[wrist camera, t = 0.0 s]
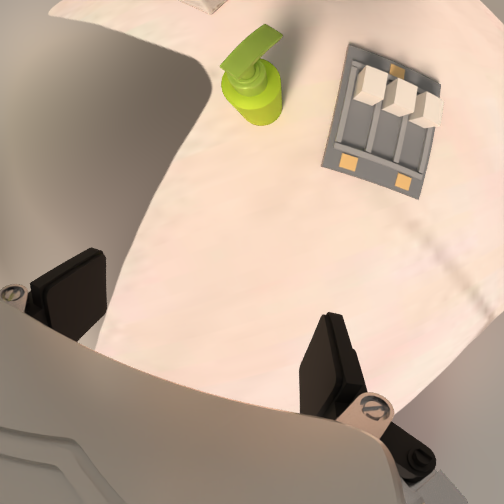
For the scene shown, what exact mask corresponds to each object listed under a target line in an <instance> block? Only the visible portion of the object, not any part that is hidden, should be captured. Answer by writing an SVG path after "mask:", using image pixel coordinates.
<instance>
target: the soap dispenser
mask: <svg viewBox="0 0 504 504" xmlns="http://www.w3.org/2000/svg"><path fill="white" fill-rule="evenodd" d="M282 36H283V35H282V34H281V33H279V32H278V31H276V30H275V29H273V28H272V27H270V26H268V25H266V24H264V25H262V26H261V27H259V28H258V29H257V30H255V31H254V32H253V33H251V34H250V35H249V36H248V37H247V38H246V39H244V40H243V41H242V42H241V43H240V44H239V45H238V46H237V47H236V48H235V49H234V50H233V51H232V53H231V54H230V55H229V56H228V57H227V58H226V59H225V60H224V61H223V63H222V64H221V65H220V68H221V69H223V70H224V71H225V73H224V75H223V77H222V82H221V87H222V92H223V94H224V96H225V98H226V99H227V100H228V101H229V102H230V103H231V104H232V105H233V106H234V107H235V108H236V109H237V111H238V112H239V113H240V114H241V115H242V116H243V117H244V118H245V119H246V120H247V121H248V122H250V123H252V124H254V125H258V126H264V125H268V124H271V123H273V122H274V121H275V120H277V118H278V117H279V116H280V114H281V111H282V95H281V79H280V75H279V73H278V71H277V69H276V68H275V67H274V66H273V65H272V64H271V63H270V62H268V61H266V60H264V59H261V57H262V56H263V55H264V54H265V53H266V52H267V51H268V50H269V49H270V48H271V47H272V46H273V45H275V44H276V43H277V42H278V41H279V40H280V39H281V38H282Z"/></svg>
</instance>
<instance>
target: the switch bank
mask: <svg viewBox="0 0 504 504" xmlns="http://www.w3.org/2000/svg"><path fill="white" fill-rule="evenodd" d="M366 65H368V66H371V67H373V68H376V69H378V70H381V71H383V72H386V73H388V76H387V83H386V86H387V85H388V84H390V83H391V82H393V81H394V80H396V79H397V78H400V79H402V80H404V81H407V82H409V83H411V84H413V85H415V86H417V87H418V88H417V95H419V94H422V93H424V92H426V91H427V92H429V93H431V94H433V95H435V96H437V97H438V98H440V89H441V84H439V83H437V82H435V81H433V80H431V79H430V78H428V77H426V76H424V75H422V74H420V73H418V72H416V71H414V70H412V69H409V68H407V67H405V66H403V65H401V64H398V63H396V62H394V61H392V60H389V59H387V58H384V57H382V56H379V55H377V54H374V53H371V52H369V51H366V50H363V49H360V48H357V47H355V46H351V45H348V47H347V52H346V57H345V62H344V67H343V72H342V77H341V82H340V87H339V91H338V96H337V101H336V105H335V110H334V114H333V118H332V123H331V127H330V131H329V135H328V140H327V144H326V148H325V152H324V156H323V160H322V164H321V167H325V168H328V169H331V170H335V171H338V172H341V173H344V174H348V175H351V176H354V177H357V178H360V179H363V180H366V181H369V182H372V183H375V184H378V185H380V186H383V187H386V188H389V189H391V190H394V191H397V192H399V193H402V194H405V195H407V196H410V197H412V198H415V199H418V200H419V196H420V193H421V189H422V185H423V182H424V178H425V174H426V170H427V165H428V161H429V156H430V152H431V147H432V142H433V137H434V131H435V127H430V128H423V127H421V126H418V125H416V124H414V123H412V122H410V121H408V119H409V114H407V115H404V116H401V117H399V116H396V115H394V114H391V113H389V112H386V111H384V110H381V109H382V104H383V100H381V101H380V102H378V103H376V104H374V105H373V106H371V105H368V104H366V103H363V102H360V101H357V100H354V99H353V95H354V90H355V85H356V79H357V75H358V74H359V73H360V72H361V71H362V70H363V68H364V67H365V66H366ZM417 95H416V96H417Z"/></svg>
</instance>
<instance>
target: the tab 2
mask: <svg viewBox="0 0 504 504" xmlns="http://www.w3.org/2000/svg"><path fill="white" fill-rule="evenodd" d="M417 88H418V87H417V86H415V85H413V84H411V83H409V82H407V81H404V80H402V79H400V78H397V79H396V80H394V81H393V82H391V83H390V84H388V85H387V86H386V89H385V94H384V99H383V104H382V109H381V110H384V111H386V112H389V113H391V114H394V115H396V116H399V117H401V116H404V115H407V114H410V113H413V112H414V108H415V102H416V95H417Z"/></svg>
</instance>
